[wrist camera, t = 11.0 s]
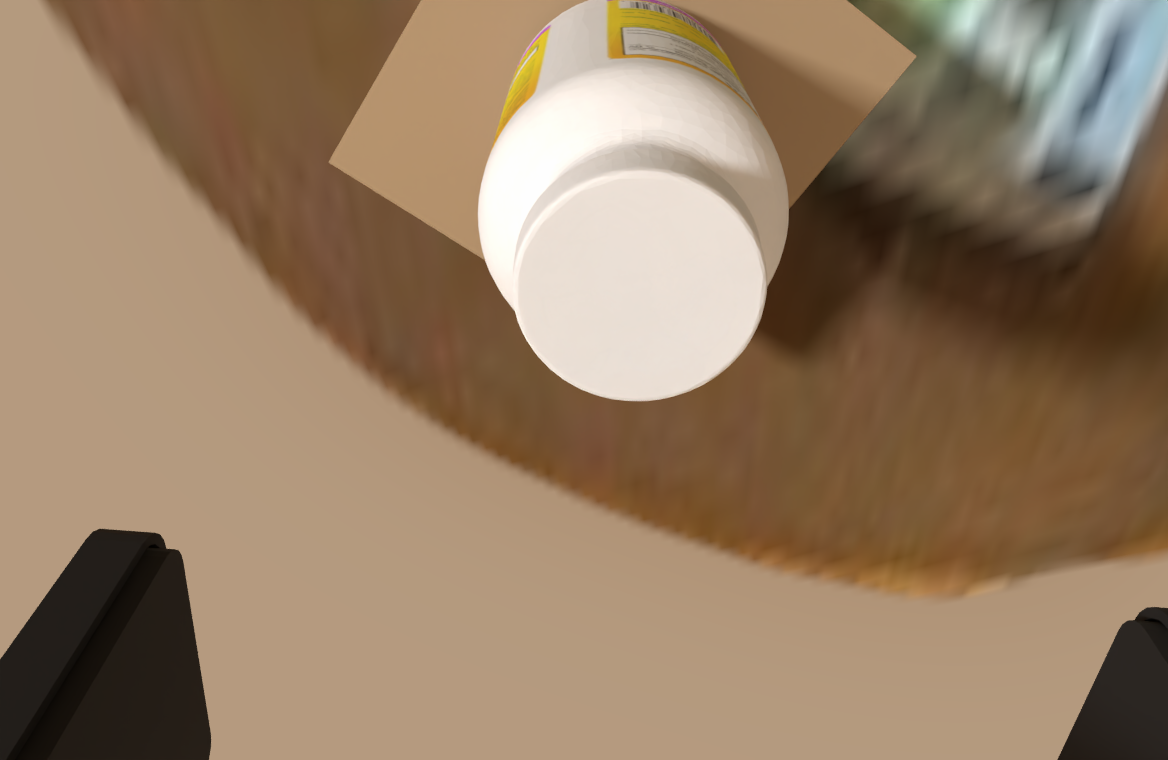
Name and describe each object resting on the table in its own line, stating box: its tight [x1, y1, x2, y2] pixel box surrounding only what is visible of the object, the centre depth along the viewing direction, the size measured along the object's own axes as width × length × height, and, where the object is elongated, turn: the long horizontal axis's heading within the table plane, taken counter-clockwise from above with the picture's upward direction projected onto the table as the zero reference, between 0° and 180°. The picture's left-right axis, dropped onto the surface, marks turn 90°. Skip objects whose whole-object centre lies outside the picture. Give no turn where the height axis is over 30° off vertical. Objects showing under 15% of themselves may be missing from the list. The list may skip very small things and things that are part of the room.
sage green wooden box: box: [329, 0, 917, 260], centre depth 32 cm, size 12×12×6 cm
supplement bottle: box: [478, 0, 789, 401], centre depth 24 cm, size 7×7×13 cm
